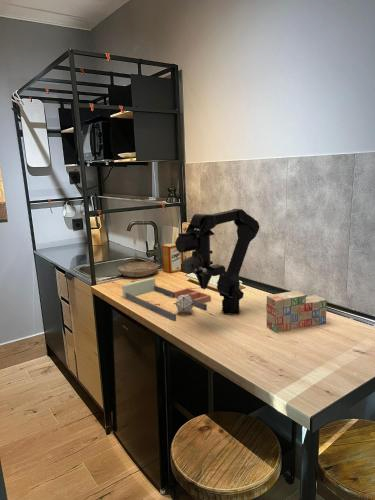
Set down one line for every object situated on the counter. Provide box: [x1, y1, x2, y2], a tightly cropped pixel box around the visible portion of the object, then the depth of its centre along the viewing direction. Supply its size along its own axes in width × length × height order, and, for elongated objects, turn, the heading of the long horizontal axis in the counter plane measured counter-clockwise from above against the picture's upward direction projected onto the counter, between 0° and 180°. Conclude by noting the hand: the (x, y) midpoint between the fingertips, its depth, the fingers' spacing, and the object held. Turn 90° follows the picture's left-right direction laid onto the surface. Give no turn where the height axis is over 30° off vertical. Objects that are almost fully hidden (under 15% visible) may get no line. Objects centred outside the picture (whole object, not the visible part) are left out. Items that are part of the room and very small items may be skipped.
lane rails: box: [125, 284, 208, 322], centre depth 163 cm, size 38×17×2 cm, turn 39°
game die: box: [173, 293, 195, 315], centre depth 151 cm, size 9×8×10 cm
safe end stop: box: [121, 277, 156, 299], centre depth 178 cm, size 2×17×6 cm, turn 129°
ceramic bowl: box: [117, 261, 160, 278], centre depth 213 cm, size 23×24×5 cm
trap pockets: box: [173, 287, 212, 304], centre depth 168 cm, size 16×9×2 cm, turn 39°
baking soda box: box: [161, 242, 184, 275], centre depth 216 cm, size 10×6×16 cm
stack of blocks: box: [265, 290, 327, 334], centre depth 135 cm, size 21×6×12 cm, turn 109°
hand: (203, 288), depth 140 cm, fingers closed
